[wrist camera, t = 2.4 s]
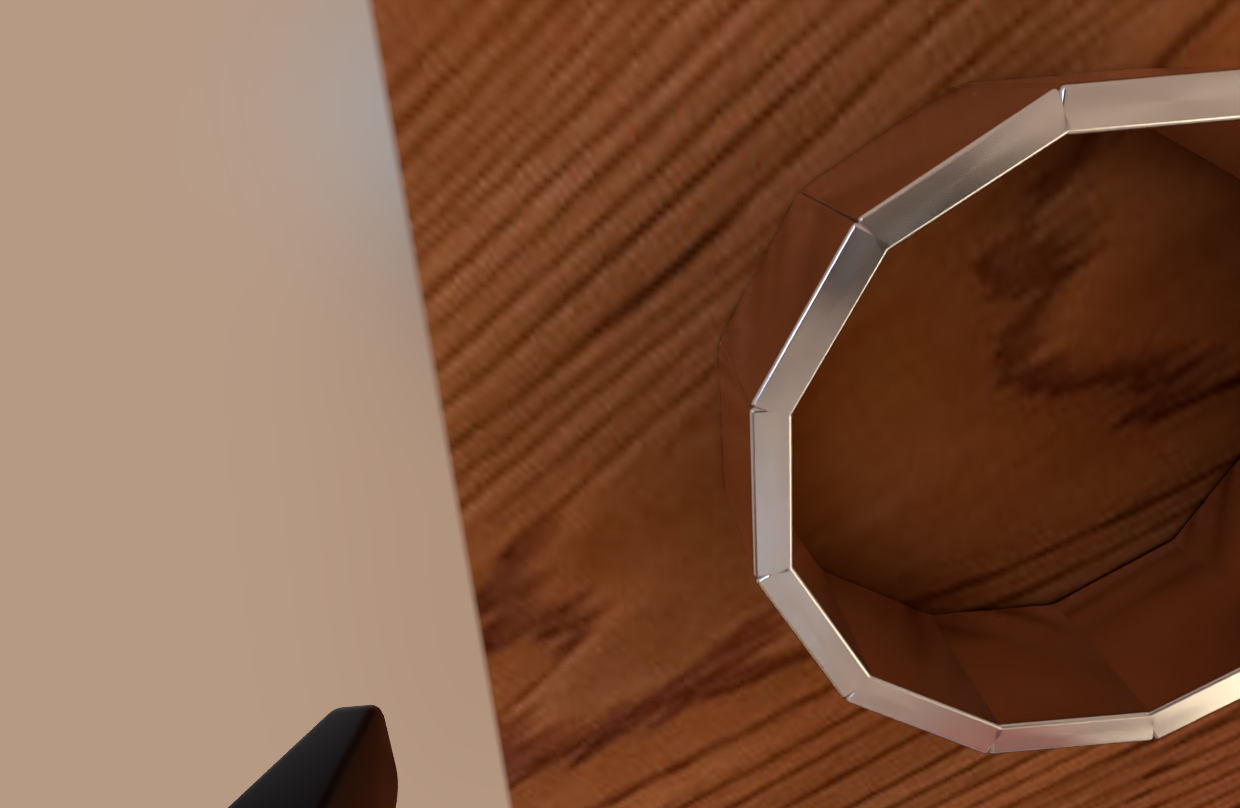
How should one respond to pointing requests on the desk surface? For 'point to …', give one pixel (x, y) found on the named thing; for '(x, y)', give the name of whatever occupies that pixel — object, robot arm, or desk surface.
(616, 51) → the desk surface
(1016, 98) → the steel ring
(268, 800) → the robot arm
